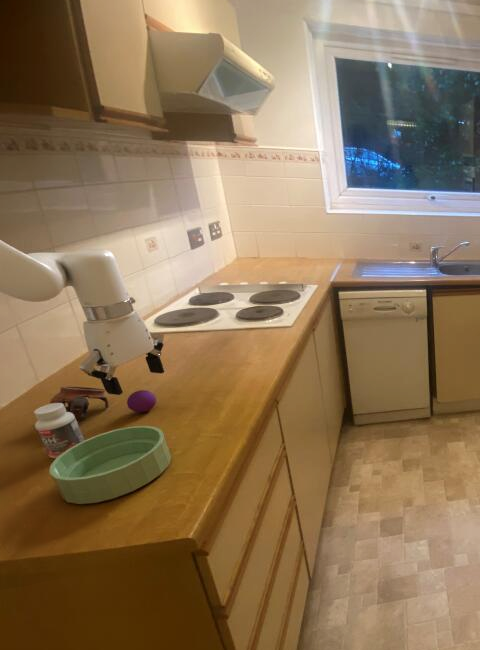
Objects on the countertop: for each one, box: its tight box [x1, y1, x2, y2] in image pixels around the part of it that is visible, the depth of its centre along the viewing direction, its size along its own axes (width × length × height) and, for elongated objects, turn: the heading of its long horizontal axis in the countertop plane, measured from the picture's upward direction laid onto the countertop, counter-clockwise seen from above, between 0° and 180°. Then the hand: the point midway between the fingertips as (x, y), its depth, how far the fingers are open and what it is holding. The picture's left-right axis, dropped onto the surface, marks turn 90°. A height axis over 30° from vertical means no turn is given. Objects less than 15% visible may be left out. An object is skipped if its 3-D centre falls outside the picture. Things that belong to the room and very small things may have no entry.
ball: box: [126, 389, 157, 414], centre depth 98 cm, size 5×5×5 cm
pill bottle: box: [33, 403, 86, 459], centre depth 83 cm, size 5×5×10 cm
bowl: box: [49, 425, 173, 505], centre depth 78 cm, size 15×15×6 cm
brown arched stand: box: [49, 386, 109, 423], centre depth 95 cm, size 12×10×8 cm
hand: (137, 382), depth 96 cm, fingers open, 9 cm apart
